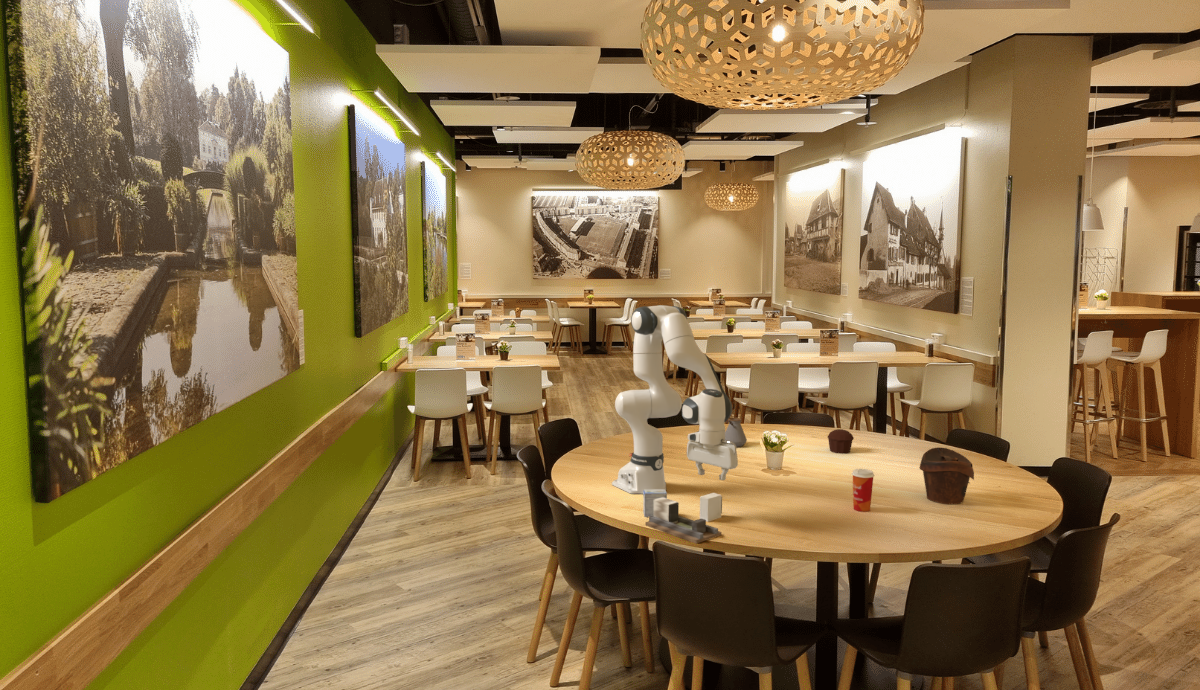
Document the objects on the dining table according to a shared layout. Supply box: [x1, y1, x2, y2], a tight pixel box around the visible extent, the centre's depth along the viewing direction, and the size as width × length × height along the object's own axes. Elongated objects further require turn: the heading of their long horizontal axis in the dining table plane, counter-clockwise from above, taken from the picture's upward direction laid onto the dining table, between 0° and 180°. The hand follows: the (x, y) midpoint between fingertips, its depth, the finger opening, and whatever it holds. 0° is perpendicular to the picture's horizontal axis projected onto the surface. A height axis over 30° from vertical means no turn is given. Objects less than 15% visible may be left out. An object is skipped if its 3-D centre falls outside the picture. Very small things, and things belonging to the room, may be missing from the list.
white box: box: [699, 492, 723, 523], centre depth 280 cm, size 4×8×8 cm, turn 131°
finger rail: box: [645, 497, 723, 544], centre depth 267 cm, size 23×12×8 cm, turn 41°
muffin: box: [827, 428, 854, 455], centre depth 373 cm, size 12×11×10 cm
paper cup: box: [851, 468, 875, 513], centre depth 289 cm, size 8×8×14 cm
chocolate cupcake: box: [919, 446, 975, 505], centre depth 300 cm, size 18×20×18 cm
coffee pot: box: [725, 417, 747, 448], centre depth 380 cm, size 21×12×15 cm, turn 161°
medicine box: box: [642, 489, 668, 518], centre depth 283 cm, size 8×4×9 cm, turn 92°
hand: (711, 477), depth 278 cm, fingers open, 8 cm apart
